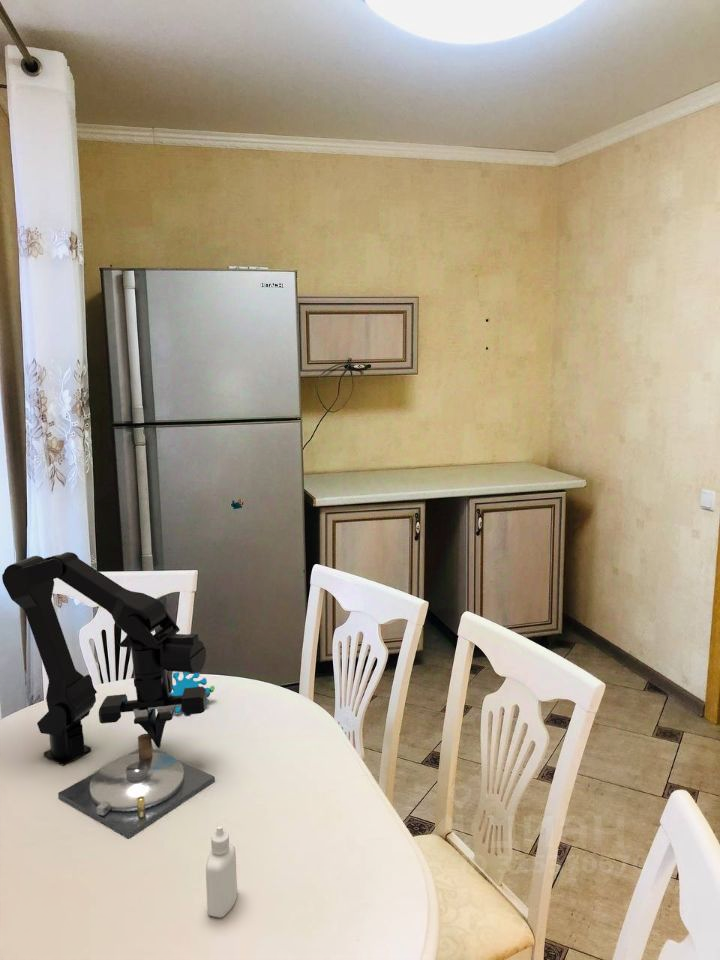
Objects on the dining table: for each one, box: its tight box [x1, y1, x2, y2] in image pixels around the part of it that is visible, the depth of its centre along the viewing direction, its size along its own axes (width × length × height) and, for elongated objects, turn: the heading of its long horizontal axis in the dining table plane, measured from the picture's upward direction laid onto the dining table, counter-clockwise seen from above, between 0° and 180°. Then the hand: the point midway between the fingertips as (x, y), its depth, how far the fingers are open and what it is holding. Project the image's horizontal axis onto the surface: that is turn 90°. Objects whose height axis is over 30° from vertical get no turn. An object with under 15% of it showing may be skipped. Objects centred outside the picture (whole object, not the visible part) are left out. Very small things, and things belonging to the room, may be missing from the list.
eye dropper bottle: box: [205, 825, 238, 918], centre depth 101 cm, size 4×6×12 cm
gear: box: [169, 672, 215, 716], centre depth 160 cm, size 11×6×10 cm
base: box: [57, 747, 216, 839], centre depth 129 cm, size 19×19×4 cm
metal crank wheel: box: [90, 733, 184, 816], centre depth 128 cm, size 16×18×5 cm
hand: (159, 746), depth 135 cm, fingers closed
